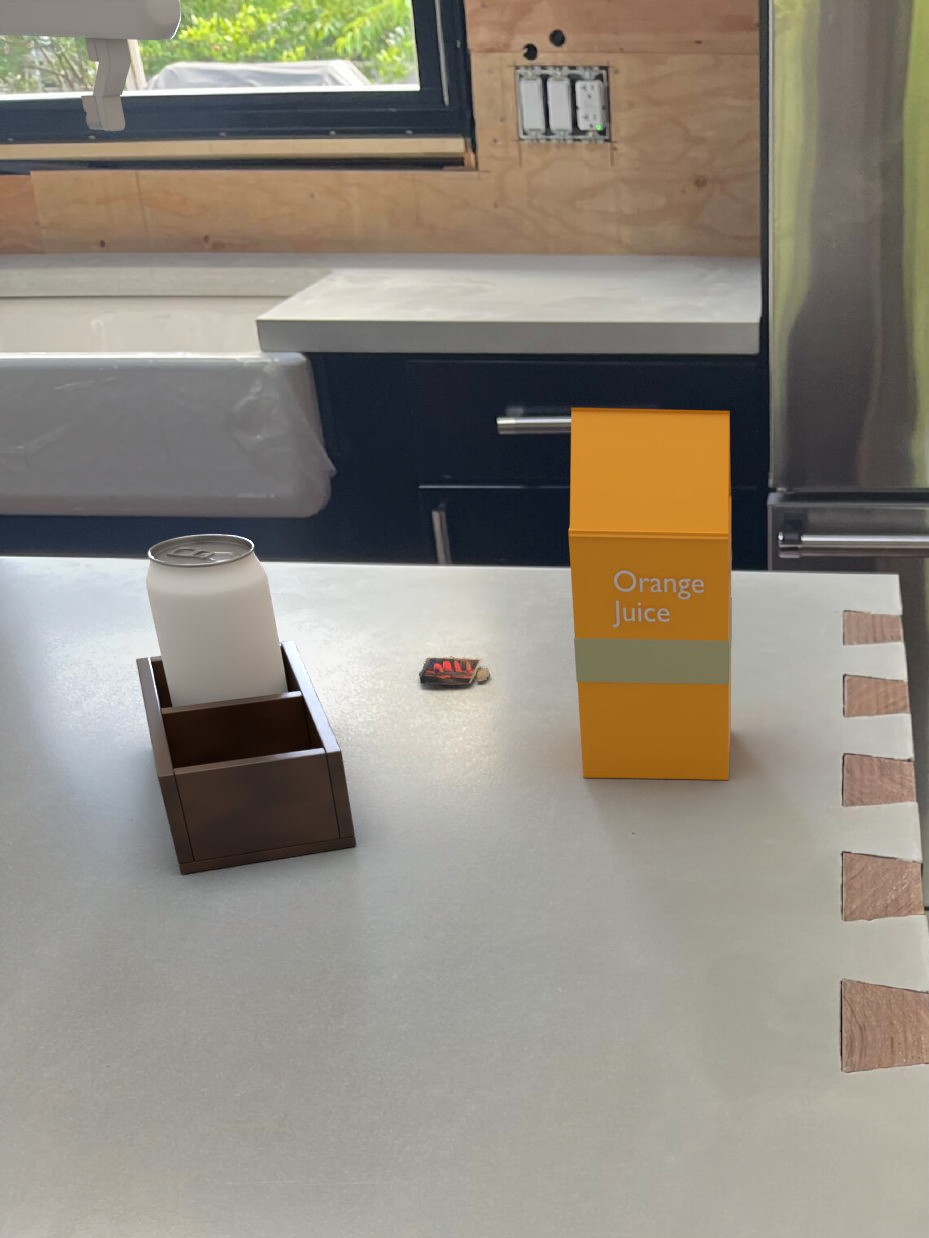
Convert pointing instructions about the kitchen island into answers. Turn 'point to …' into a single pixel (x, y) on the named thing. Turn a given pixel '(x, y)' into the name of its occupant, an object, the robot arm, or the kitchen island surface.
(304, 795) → the holder
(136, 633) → the kitchen island surface
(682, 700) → the orange juice
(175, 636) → the can
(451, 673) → the matchbox
